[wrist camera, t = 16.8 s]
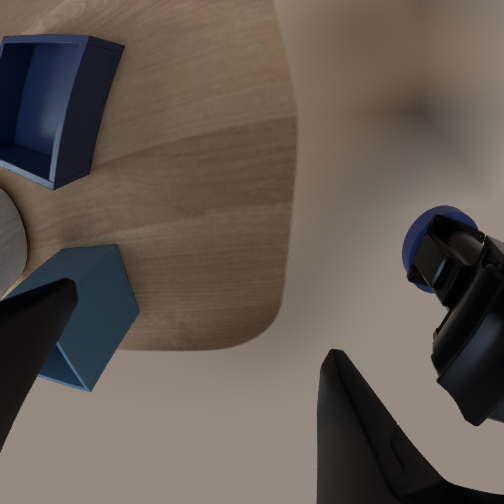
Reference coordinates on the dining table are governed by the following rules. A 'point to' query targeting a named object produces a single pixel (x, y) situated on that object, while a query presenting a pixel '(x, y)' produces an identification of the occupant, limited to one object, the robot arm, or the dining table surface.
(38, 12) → the dining table surface
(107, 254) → the blue bin
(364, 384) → the robot arm
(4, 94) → the navy bin
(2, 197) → the ramekin
